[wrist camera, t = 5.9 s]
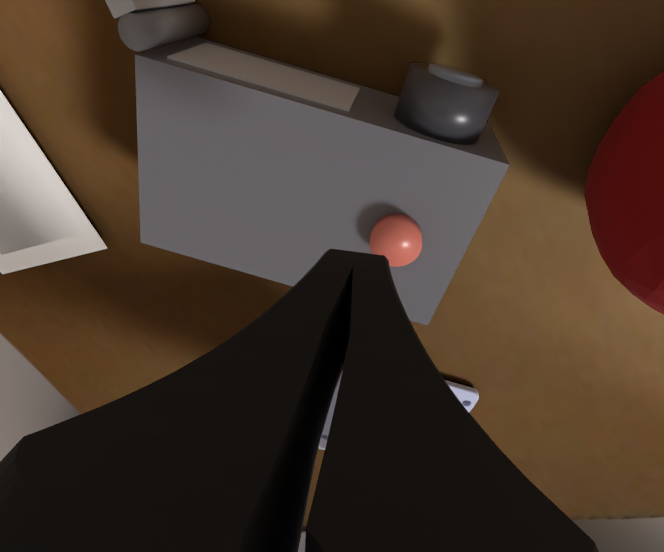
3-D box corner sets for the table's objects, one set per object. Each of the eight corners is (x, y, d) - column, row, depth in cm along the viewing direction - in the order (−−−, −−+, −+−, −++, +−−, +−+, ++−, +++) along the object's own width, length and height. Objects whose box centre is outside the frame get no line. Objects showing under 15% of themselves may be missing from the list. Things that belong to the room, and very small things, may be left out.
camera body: (425, 263, 21) (428, 335, 17) (189, 194, 21) (132, 250, 17) (510, 76, 16) (544, 113, 12) (198, -16, 16) (120, -12, 12)
